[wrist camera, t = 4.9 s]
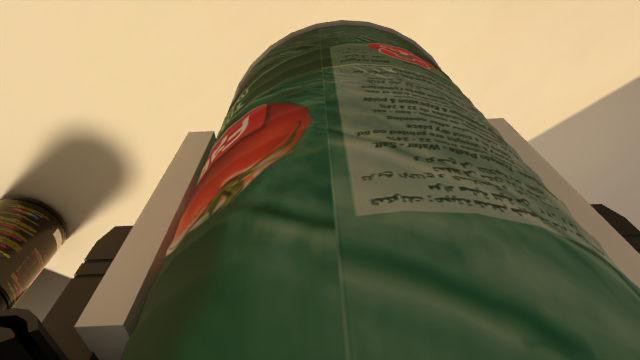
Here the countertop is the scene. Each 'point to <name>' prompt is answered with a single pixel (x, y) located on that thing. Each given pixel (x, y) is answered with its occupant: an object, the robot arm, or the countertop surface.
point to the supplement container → (25, 244)
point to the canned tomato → (375, 226)
